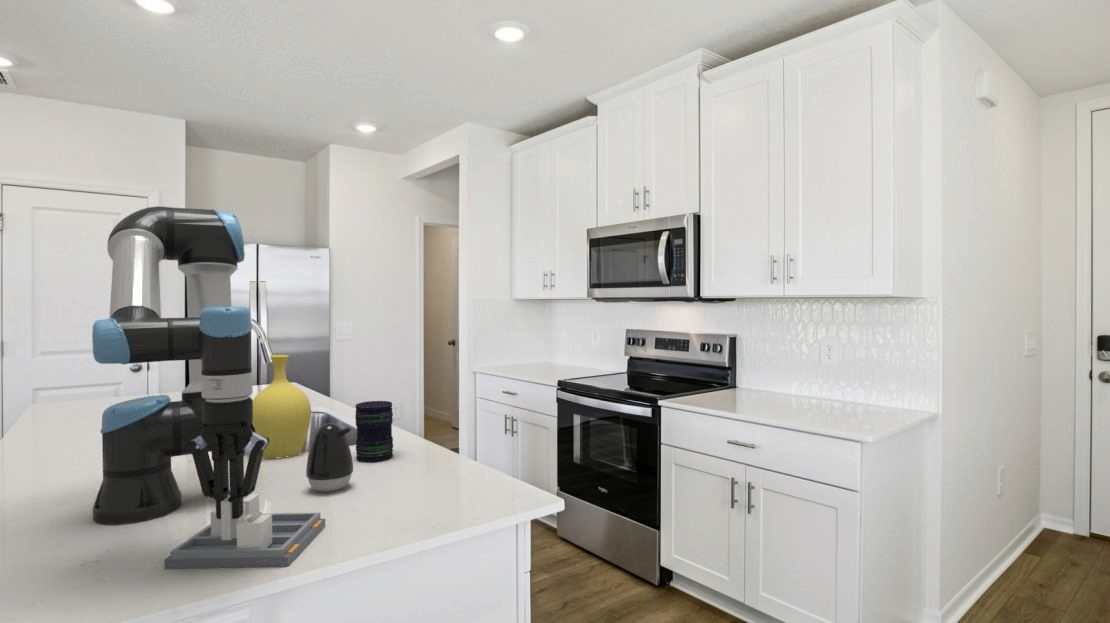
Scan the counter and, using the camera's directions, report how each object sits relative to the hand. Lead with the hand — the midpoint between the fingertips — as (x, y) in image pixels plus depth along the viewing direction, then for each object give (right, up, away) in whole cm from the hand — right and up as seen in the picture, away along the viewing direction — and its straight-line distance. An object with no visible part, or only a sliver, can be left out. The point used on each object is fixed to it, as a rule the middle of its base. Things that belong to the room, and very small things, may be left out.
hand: (230, 536), depth 100 cm
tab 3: (+4, -2, 0) cm, 5 cm away
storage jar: (+5, -2, +63) cm, 63 cm away
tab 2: (-3, -2, +11) cm, 11 cm away
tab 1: (-3, -2, +5) cm, 6 cm away
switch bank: (+1, -4, +5) cm, 6 cm away
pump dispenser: (+3, -3, +37) cm, 37 cm away
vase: (-23, -3, +68) cm, 72 cm away
